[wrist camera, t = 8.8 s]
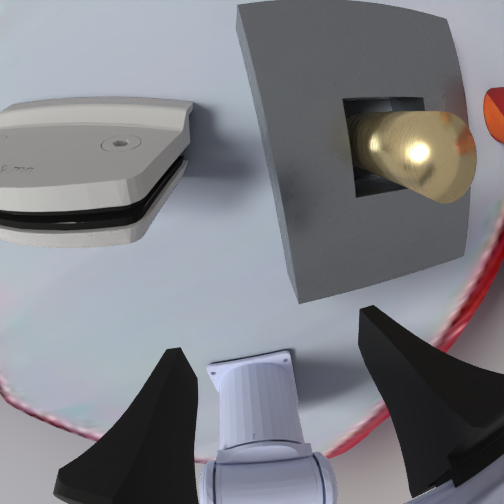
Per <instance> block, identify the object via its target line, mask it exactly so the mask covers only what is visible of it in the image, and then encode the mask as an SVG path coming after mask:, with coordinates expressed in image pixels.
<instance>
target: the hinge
mask: <svg viewBox="0 0 504 504" xmlns="http://www.w3.org/2000/svg"><path fill="white" fill-rule="evenodd" d="M192 110H193V102H189V101H180V100H169V99H156V98H138V97H81V98H63V99H51V100H42V101H33V102H26V103H19V104H13V105H11V106H9V107H8V108H6V109H4V110H3V111H1V112H0V239H3V240H6V241H9V242H13V243H17V244H23V245H28V246H36V247H47V248H91V247H105V246H114V245H122V244H130V243H133V242H136V241H138V240H139V239H141V238H142V237H143V236H144V235H145V233H146V231H147V230H148V228H149V227H150V225H151V223H152V222H153V220H154V219H155V217H156V215H157V214H158V212H159V211H160V209H161V208H162V206H163V205H164V203H165V202H166V200H167V199H168V197H169V196H170V194H171V193H172V191H173V190H174V188H175V187H176V185H177V184H178V182H179V181H180V180H181V178H182V177H183V174H184V172H185V169H186V166H187V163H188V161H187V160H183V156H179V155H180V154H181V153H182V152H183V151H184V149H185V148H186V147H187V146H188V145H189V144H190V143H191V142H190V127H189V114H190V113H191V112H192Z"/></svg>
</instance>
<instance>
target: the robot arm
mask: <svg viewBox="0 0 504 504" xmlns="http://www.w3.org/2000/svg"><path fill="white" fill-rule="evenodd" d="M358 346H359V348H360V351H361V354H362V357H363V359H364V362H365V365H366V367H367V369H368V371H369V372H370V374H371V376H372V378H373V380H374V382H375V384H376V386H377V388H378V390H379V392H380V394H381V396H382V398H383V400H384V402H385V404H386V406H387V408H388V410H389V413H390V415H391V418H392V421H393V424H394V427H395V430H396V433H397V437H398V440H399V443H400V447H401V451H402V455H403V458H404V463H405V467H406V472H407V478H408V482H409V490H410V493H411V496H412V498H414V497H416V496H418V495H421V494H423V493H425V492H426V491H429V490H431V489H432V488H434V487H436V488H435V489H433V490H431V491H429V492H427V493H426V494H424V495H422V496H420V497H418V498H415V499H413V500H411V501H409V502H407V503H405V504H504V374H500V373H496V372H492V371H489V370H485V369H482V368H479V367H476V366H473V365H471V364H468V363H466V362H463V361H461V360H458V359H456V358H454V357H452V356H450V355H448V354H446V353H444V352H442V351H440V350H438V349H437V348H435V347H433V346H431V345H430V344H428V343H426V342H425V341H423V340H422V339H420V338H419V337H417V336H415V335H414V334H413V333H411V332H410V331H408V330H407V329H405V328H404V327H403V326H401V325H400V324H398V323H397V322H396V321H394V320H393V319H392V318H390V317H389V316H388V315H386V314H385V313H384V312H382V311H381V310H380V309H378V308H377V307H375V306H374V305H372V306H368V307H365V308H362V309H360V313H359V336H358ZM286 358H287V359H286ZM207 372H208V374H209V376H210V377H211V379H212V381H213V383H214V385H215V387H216V389H217V391H218V392H219V394H220V450H217V451H216V461H208V462H207V464H206V465H205V466H204V467H203V468H202V470H201V474H200V504H336V502H337V482H336V477H335V473H334V470H333V467H332V465H331V463H330V461H329V460H328V459H327V458H326V457H325V456H323V455H322V454H321V453H320V452H314V453H312V449H311V444H310V443H306V444H305V442H304V438H303V433H302V428H301V424H300V419H299V414H298V410H297V405H296V404H298V403H299V400H298V395H297V389H296V383H295V378H294V372H293V366H292V361H291V356H290V352H289V351H281V352H276V353H271V354H267V355H262V356H256V357H251V358H246V359H240V360H234V361H229V362H222V363H216V364H210V365H208V366H207ZM197 408H198V380H197V377H196V375H195V373H194V371H193V370H192V368H191V366H190V364H189V362H188V360H187V359H186V357H185V355H184V353H183V351H182V349H181V347H179V348H172V349H167V350H166V351H165V353H164V354H163V356H162V357H161V359H160V361H159V362H158V364H157V365H156V367H155V369H154V370H153V372H152V373H151V375H150V377H149V378H148V380H147V381H146V383H145V384H144V386H143V388H142V389H141V391H140V392H139V394H138V395H137V396H136V398H135V399H134V401H133V402H132V403H131V405H130V406H129V408H128V409H127V410H126V411H125V413H124V414H123V415H122V416H121V418H120V419H119V420H118V421H117V422H116V423H115V424H114V426H113V427H112V428H111V429H110V430H109V431H108V432H107V433H106V434H105V435H104V436H103V437H102V438H101V439H99V440H98V441H97V442H96V443H95V444H94V445H93V446H92V447H91V448H89V449H88V450H87V451H86V452H84V453H83V454H82V455H80V456H79V457H78V458H76V459H75V460H73V461H72V462H70V463H68V464H67V465H65V466H64V467H62V468H60V469H59V472H58V475H57V479H56V484H55V488H54V492H53V494H54V496H55V497H57V498H59V499H60V500H62V501H64V502H66V503H68V504H199V503H198V496H197V489H196V478H195V465H194V441H195V430H196V419H197Z"/></svg>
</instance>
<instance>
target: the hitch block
mask: <svg viewBox="0 0 504 504" xmlns="http://www.w3.org/2000/svg"><path fill="white" fill-rule="evenodd" d="M236 30H237V34H238V38H239V42H240V46H241V50H242V54H243V58H244V62H245V66H246V70H247V74H248V79H249V83H250V87H251V91H252V96H253V100H254V104H255V109H256V113H257V118H258V122H259V127H260V131H261V136H262V141H263V145H264V150H265V155H266V160H267V165H268V170H269V174H270V179H271V184H272V189H273V195H274V200H275V205H276V210H277V215H278V221H279V226H280V231H281V237H282V242H283V248H284V254H285V259H286V265H287V271H288V275H289V278H290V280H291V283H292V286H293V289H294V292H295V294H296V297H297V300H298V303H299V304H302V303H306V302H310V301H314V300H318V299H322V298H326V297H330V296H334V295H338V294H342V293H345V292H349V291H353V290H356V289H360V288H364V287H367V286H371V285H374V284H378V283H381V282H385V281H388V280H391V279H395V278H398V277H401V276H405V275H408V274H411V273H414V272H417V271H420V270H424V269H427V268H430V267H433V266H436V265H439V264H442V263H445V262H447V261H450V260H453V259H456V258H459V257H462V256H464V251H465V244H466V236H467V228H468V218H469V205H470V187H469V188H468V190H467V191H466V193H465V194H464V195H463V196H462V197H461V198H459V199H458V200H456V201H454V202H452V203H446V204H445V203H439V202H436V201H434V200H432V199H430V198H428V197H426V196H424V195H422V194H420V193H417V192H415V191H413V190H411V189H409V188H406V187H404V186H402V185H399V184H397V183H395V182H392V181H390V180H388V179H385V178H383V177H380V176H371V177H365V178H359V179H354V174H353V165H352V157H351V150H350V143H349V136H348V130H347V123H346V118H345V112H344V106H343V101H352V100H372V99H391V105H392V111H441V112H450V113H452V114H455V115H456V116H458V117H459V118H460V119H462V120H463V121H464V123H465V124H466V125H467V127H468V128H469V124H468V115H467V106H466V99H465V92H464V86H463V81H462V75H461V71H460V66H459V61H458V57H457V53H456V49H455V45H454V42H453V38H452V35H451V31H450V28H449V25H448V22H447V19H445V18H441V17H438V16H434V15H431V14H427V13H423V12H419V11H415V10H410V9H406V8H401V7H395V6H390V5H384V4H377V3H369V2H361V1H350V0H275V1H264V2H255V3H247V4H240V5H237V21H236Z"/></svg>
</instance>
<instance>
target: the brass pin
mask: <svg viewBox="0 0 504 504" xmlns="http://www.w3.org/2000/svg"><path fill="white" fill-rule="evenodd" d="M346 123H347V130H348V136H349V143H350V150H351V157H352V165H353V166H355V167H357V168H360V169H363V170H365V171H368V172H370V173H373V174H375V175H378V176H380V177H383V178H385V179H388V180H390V181H392V182H395V183H397V184H399V185H402V186H404V187H406V188H409V189H411V190H413V191H415V192H417V193H420V194H422V195H424V196H426V197H428V198H430V199H432V200H434V201H436V202H439V203H445V204H446V203H452V202H454V201H456V200H458V199H459V198H461V197H462V196H463V195H464V194H465V193H466V191H467V190H468V188H469V187H470V185H471V183H472V181H473V178H474V175H475V170H476V162H477V155H476V147H475V143H474V139H473V136H472V134H471V132H470V130H469V128H468V127H467V125H466V124H465V123H464V121H463V120H462V119H460V118H459V117H458V116H456V115H455V114H452V113H450V112H441V111H389V112H369V113H357V114H353V115H351V116H349V117H348V118H347V119H346Z"/></svg>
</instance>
